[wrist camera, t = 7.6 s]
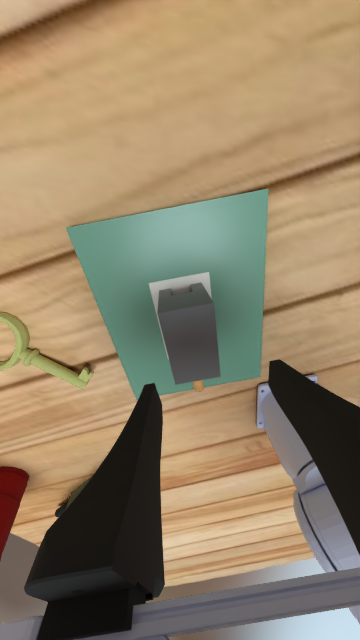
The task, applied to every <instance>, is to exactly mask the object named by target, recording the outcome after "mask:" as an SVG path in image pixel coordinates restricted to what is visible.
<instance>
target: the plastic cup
mask: <svg viewBox="0 0 360 640" xmlns="http://www.w3.org/2000/svg"><path fill="white" fill-rule="evenodd" d="M28 478H29V476H28V474H27V473H26V472H24V471H22V470H20V469H17V468H11V467H0V560H1V555H2V552H3V550H4V547H5V544H6V542H7V539H8V536H9V534H10V531H11V528H12V525H13V523H14V520H15V517H16V514H17V512H18V509H19V506H20V502H21V499H22V496H23V494H24V491H25V489H26V486H27V482H28Z"/></svg>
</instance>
